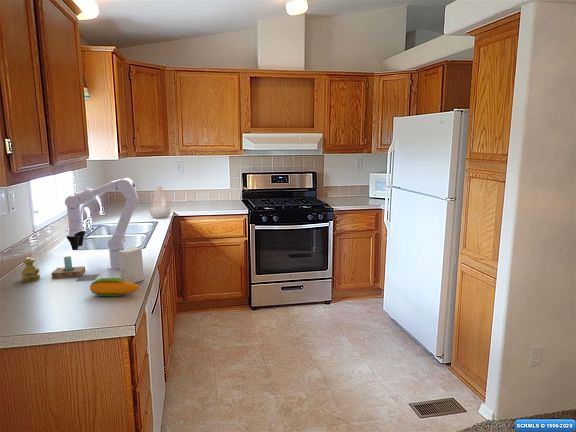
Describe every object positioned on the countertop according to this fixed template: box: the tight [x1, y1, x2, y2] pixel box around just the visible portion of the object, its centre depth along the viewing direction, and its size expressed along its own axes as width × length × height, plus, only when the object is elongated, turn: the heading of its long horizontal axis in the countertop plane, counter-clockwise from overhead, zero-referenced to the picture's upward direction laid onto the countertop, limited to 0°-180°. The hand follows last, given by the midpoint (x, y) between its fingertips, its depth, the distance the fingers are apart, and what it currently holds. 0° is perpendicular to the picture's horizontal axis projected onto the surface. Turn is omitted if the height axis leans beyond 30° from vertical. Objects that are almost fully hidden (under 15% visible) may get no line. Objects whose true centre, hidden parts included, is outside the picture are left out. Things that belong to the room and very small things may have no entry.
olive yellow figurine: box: [20, 257, 41, 283], centre depth 192 cm, size 7×7×10 cm
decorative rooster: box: [149, 185, 171, 219], centre depth 335 cm, size 25×16×25 cm, turn 16°
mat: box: [75, 273, 100, 282], centre depth 194 cm, size 8×9×1 cm
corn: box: [89, 277, 140, 297], centre depth 173 cm, size 7×8×20 cm
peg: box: [63, 255, 73, 271], centre depth 197 cm, size 3×3×9 cm
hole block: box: [51, 266, 86, 279], centre depth 198 cm, size 12×8×3 cm, turn 100°
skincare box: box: [118, 246, 145, 284], centre depth 188 cm, size 8×6×15 cm
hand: (77, 247), depth 207 cm, fingers open, 7 cm apart
